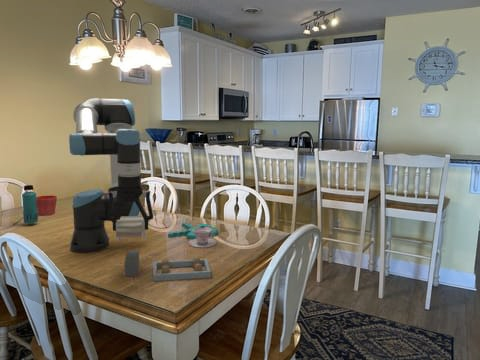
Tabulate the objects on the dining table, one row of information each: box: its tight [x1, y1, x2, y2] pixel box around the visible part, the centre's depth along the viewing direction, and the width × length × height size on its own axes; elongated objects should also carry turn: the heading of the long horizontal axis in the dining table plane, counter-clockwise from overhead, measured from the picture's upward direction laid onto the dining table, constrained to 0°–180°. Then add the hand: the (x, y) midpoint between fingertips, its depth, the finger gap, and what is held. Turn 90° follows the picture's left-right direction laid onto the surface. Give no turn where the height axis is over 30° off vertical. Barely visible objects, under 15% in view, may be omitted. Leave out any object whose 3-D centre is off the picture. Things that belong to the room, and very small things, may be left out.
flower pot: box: [36, 194, 58, 216], centre depth 204 cm, size 11×11×10 cm
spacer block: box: [123, 250, 140, 277], centre depth 129 cm, size 4×11×5 cm, turn 12°
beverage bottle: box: [21, 184, 39, 224], centre depth 182 cm, size 6×7×20 cm
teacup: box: [187, 228, 217, 249], centre depth 159 cm, size 12×12×6 cm
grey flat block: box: [115, 215, 144, 239], centre depth 127 cm, size 15×8×3 cm, turn 12°
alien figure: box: [167, 221, 219, 240], centre depth 174 cm, size 20×2×20 cm
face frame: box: [152, 256, 212, 282], centre depth 128 cm, size 19×12×4 cm, turn 102°
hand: (131, 238), depth 128 cm, fingers closed on grey flat block, 8 cm apart
